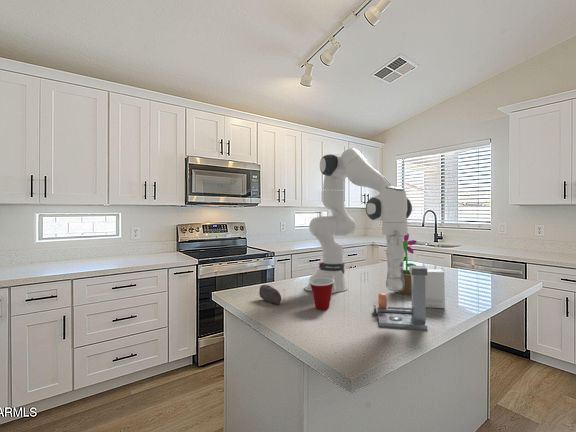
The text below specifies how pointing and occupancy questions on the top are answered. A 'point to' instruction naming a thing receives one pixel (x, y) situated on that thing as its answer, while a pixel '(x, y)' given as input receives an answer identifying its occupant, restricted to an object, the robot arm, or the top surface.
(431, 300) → the skincare box
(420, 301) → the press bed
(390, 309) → the rail
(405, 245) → the flowerpot
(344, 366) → the top surface
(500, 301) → the top surface
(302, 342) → the top surface
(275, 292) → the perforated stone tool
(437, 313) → the top surface
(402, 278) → the plastic bottle
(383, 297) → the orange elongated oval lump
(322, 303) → the plastic cup
